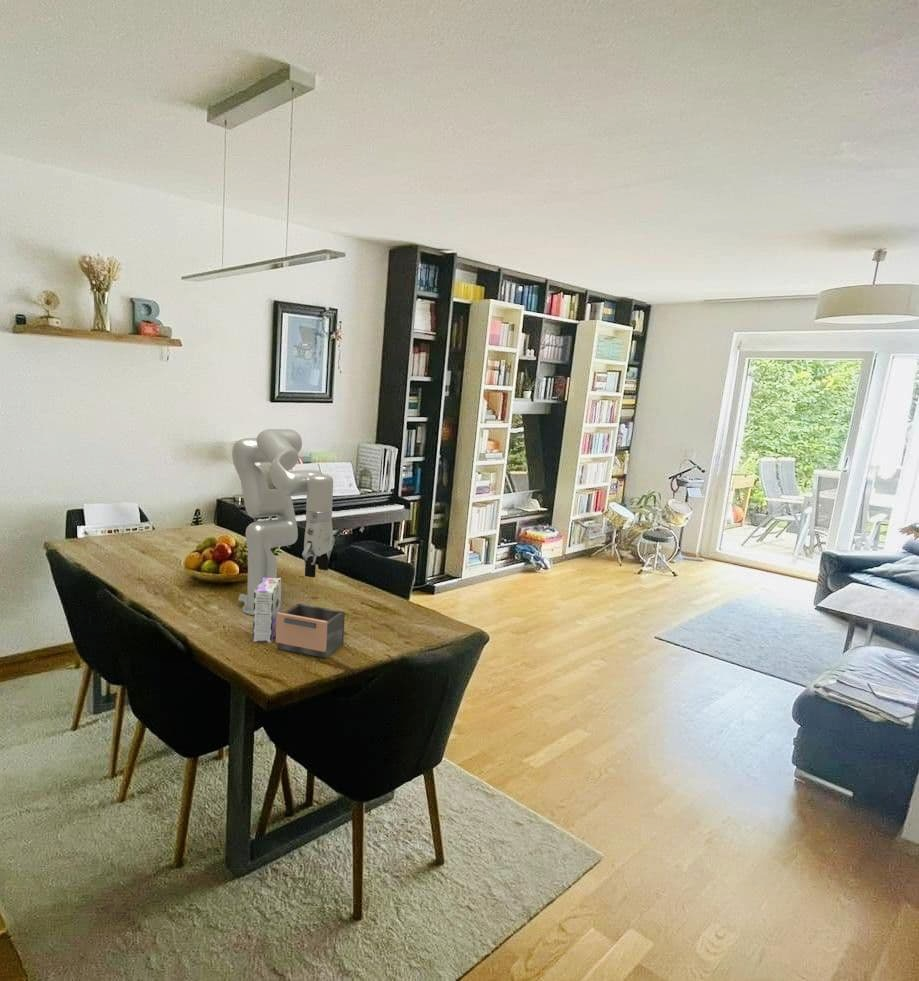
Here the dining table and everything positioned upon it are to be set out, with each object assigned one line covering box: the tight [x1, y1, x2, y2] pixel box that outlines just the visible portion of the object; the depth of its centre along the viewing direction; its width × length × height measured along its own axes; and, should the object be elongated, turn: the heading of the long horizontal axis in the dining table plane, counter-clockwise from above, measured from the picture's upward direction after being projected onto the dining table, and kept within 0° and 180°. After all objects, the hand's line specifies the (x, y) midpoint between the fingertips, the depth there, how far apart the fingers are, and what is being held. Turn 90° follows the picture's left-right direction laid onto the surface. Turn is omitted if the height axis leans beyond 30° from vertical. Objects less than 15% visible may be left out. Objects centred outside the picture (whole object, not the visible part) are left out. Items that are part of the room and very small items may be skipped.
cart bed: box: [277, 603, 346, 659], centre depth 187 cm, size 16×11×10 cm
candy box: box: [252, 577, 282, 644], centre depth 193 cm, size 14×6×16 cm, turn 5°
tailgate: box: [275, 611, 328, 652], centre depth 180 cm, size 16×2×9 cm, turn 75°
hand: (316, 572), depth 186 cm, fingers open, 7 cm apart
